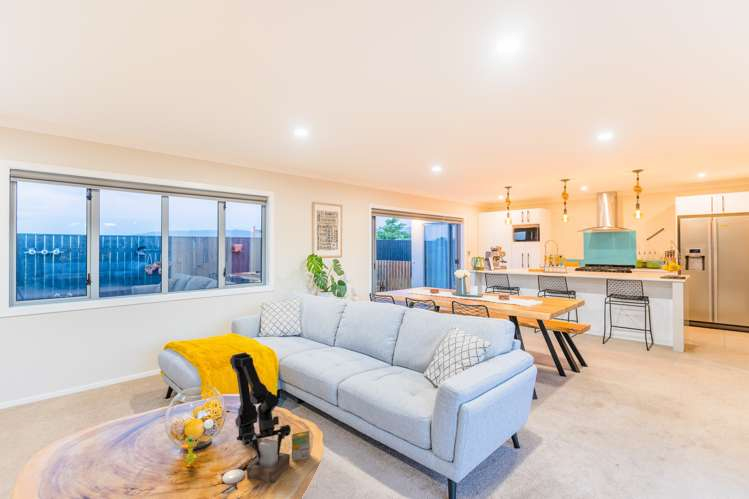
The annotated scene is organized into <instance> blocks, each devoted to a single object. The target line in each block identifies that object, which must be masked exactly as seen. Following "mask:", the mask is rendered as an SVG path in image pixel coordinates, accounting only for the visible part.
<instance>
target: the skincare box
mask: <svg viewBox="0 0 749 499" xmlns="http://www.w3.org/2000/svg"><path fill="white" fill-rule="evenodd" d="M258 447H259V452H260V466H264V467H269V468H273V466H274V465H275V464H276V463H277V462H278V443H277V440H275V439H274V440H273V439H268V438H263V440H262V441H261V442H259V443H258Z"/></svg>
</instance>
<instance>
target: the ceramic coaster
mask: <svg viewBox="0 0 749 499" xmlns="http://www.w3.org/2000/svg"><path fill="white" fill-rule="evenodd" d="M244 477H245V472H244V470H242V469H239V468H238V469H232V470H229V471H226V472H225V473H224V474H223V475H222V482H223V483H224V484H226V485H233V483H234V484H236V483H239V482H240V481H241V480H243V479H244Z"/></svg>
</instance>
